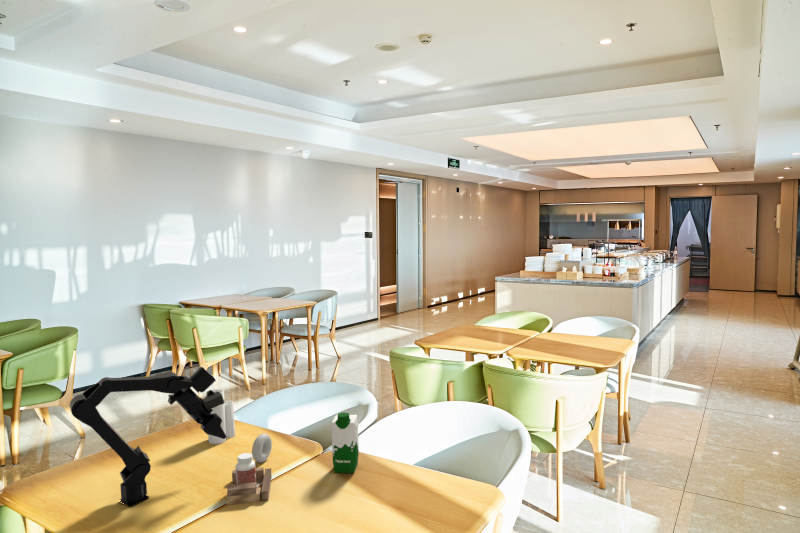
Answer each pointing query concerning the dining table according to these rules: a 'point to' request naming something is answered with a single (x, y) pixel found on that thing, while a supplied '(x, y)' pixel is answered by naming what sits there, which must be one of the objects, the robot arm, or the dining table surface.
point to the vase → (224, 419)
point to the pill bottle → (245, 469)
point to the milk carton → (345, 443)
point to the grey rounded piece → (261, 447)
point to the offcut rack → (249, 488)
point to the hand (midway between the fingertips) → (221, 433)
